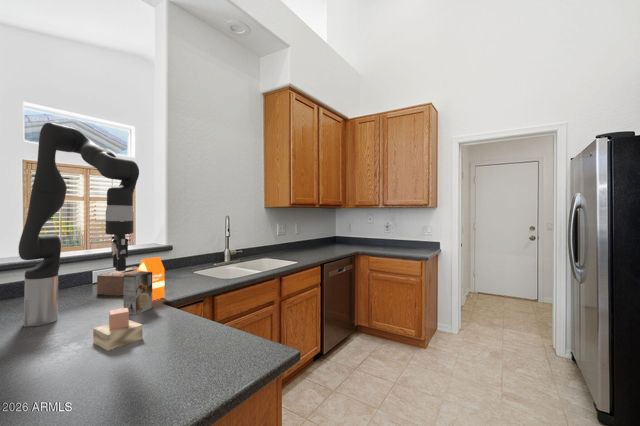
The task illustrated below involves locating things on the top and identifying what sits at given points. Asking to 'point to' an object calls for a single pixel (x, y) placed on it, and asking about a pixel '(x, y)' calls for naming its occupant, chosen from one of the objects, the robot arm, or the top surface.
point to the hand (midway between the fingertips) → (119, 268)
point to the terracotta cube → (118, 319)
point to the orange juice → (154, 275)
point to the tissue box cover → (113, 281)
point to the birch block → (117, 335)
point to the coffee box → (138, 292)
